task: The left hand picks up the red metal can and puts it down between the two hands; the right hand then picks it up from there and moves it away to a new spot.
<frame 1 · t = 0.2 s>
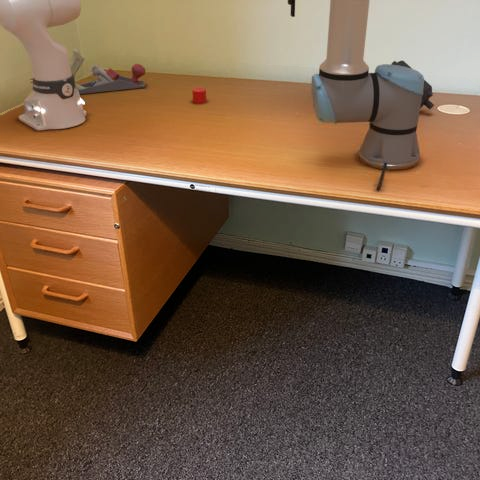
right hand: (314, 15, 165), 28 cm above the table, tool pointing down, fingers open, 13 cm apart
tool: (400, 109, 173), on the table
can: (199, 101, 183), on the table
hand plane: (105, 89, 198), on the table
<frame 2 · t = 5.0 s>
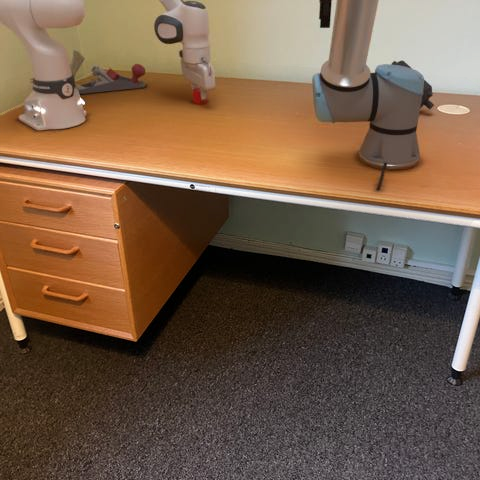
left hand: (199, 96, 183), 2 cm above the table, tool pointing down, fingers closed on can, 4 cm apart
right hand: (324, 23, 154), 28 cm above the table, tool pointing down, fingers open, 13 cm apart
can: (199, 101, 183), on the table, touching left hand
everything else where it was.
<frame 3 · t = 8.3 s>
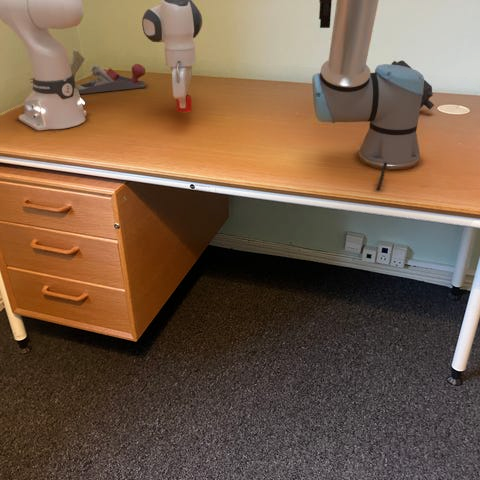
left hand: (184, 104, 163), 6 cm above the table, tool pointing down, fingers closed on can, 4 cm apart
right hand: (324, 23, 154), 28 cm above the table, tool pointing down, fingers open, 13 cm apart
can: (184, 109, 164), point 4 cm above the table, touching left hand
everything else where it was.
when the left hand's fingers open (3 cm above the table, at t = 11.6 s): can stays where it is, on the table.
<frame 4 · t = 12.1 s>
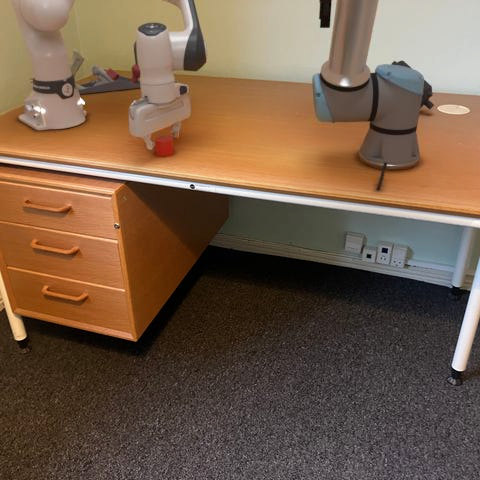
left hand: (163, 143, 144), 3 cm above the table, tool pointing down, fingers open, 8 cm apart
right hand: (324, 23, 154), 28 cm above the table, tool pointing down, fingers open, 13 cm apart
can: (164, 153, 145), on the table
everything else where it was.
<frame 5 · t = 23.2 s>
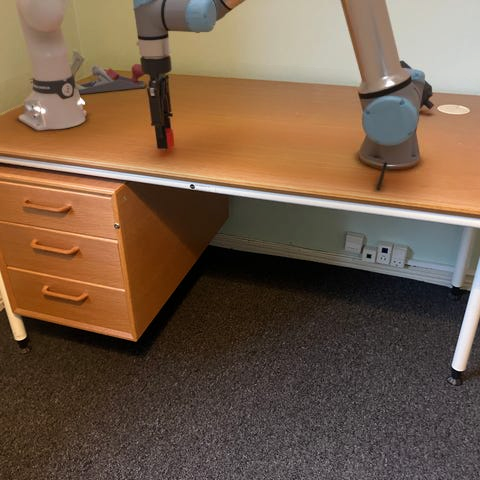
right hand: (164, 144, 144), 3 cm above the table, tool pointing down, fingers closed on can, 5 cm apart
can: (165, 145, 144), point 2 cm above the table, touching right hand
everything else where it was.
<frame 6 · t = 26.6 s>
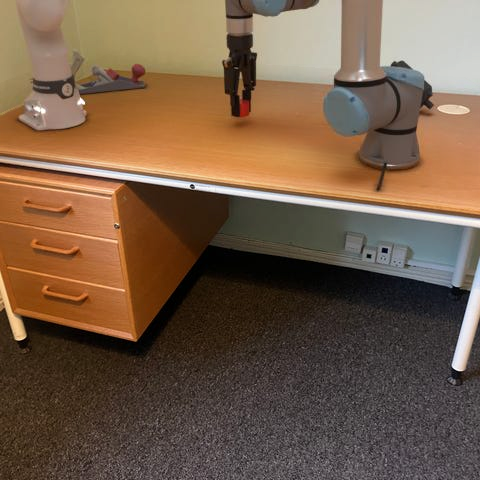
right hand: (241, 113, 162), 3 cm above the table, tool pointing down, fingers closed on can, 5 cm apart
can: (241, 114, 162), point 3 cm above the table, touching right hand
everything else where it was.
when the right hand's fingers open (0 cm above the table, at t = 30.0 s): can stays where it is, on the table.
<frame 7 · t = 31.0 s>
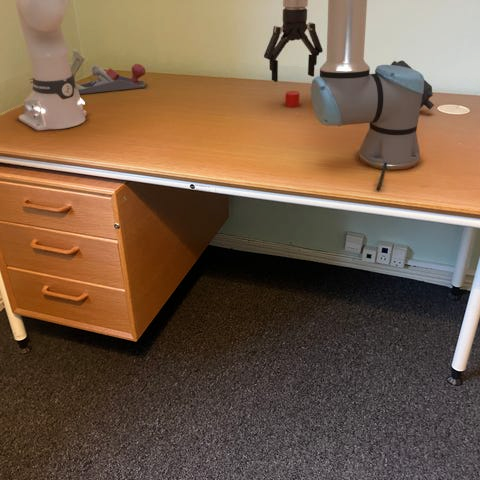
right hand: (293, 78, 174), 9 cm above the table, tool pointing down, fingers open, 13 cm apart
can: (292, 104, 179), on the table
everything else where it was.
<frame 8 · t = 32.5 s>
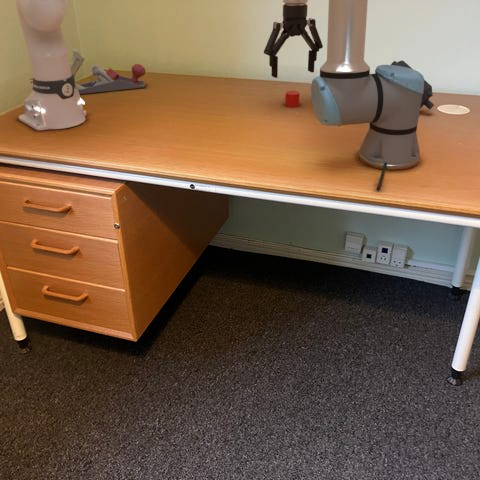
right hand: (292, 74, 173), 10 cm above the table, tool pointing down, fingers open, 13 cm apart
nothing on the table moved.
at the end: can inside the target area (0.2 cm from its centre), on the table; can tilted 0°; the two hands never held the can at the same time; the left hand is holding nothing; the right hand is holding nothing; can at rest at the end (0.0 cm/s) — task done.
